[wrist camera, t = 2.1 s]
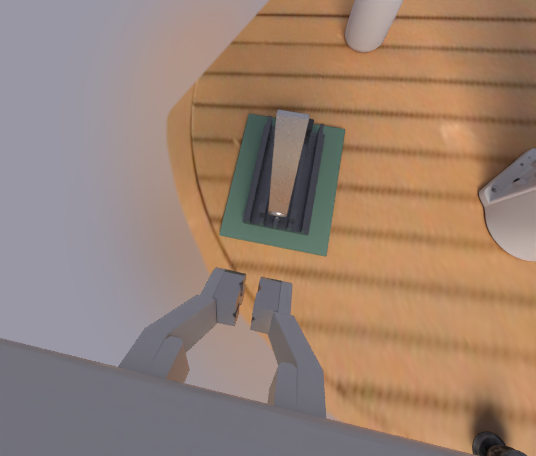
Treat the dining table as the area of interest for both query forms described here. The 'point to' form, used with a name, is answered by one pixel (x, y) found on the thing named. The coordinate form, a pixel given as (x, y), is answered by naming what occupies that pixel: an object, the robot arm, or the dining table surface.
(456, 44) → the dining table surface
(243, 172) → the circuit board
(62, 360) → the robot arm
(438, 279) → the dining table surface
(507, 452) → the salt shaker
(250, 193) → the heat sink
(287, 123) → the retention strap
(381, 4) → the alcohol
